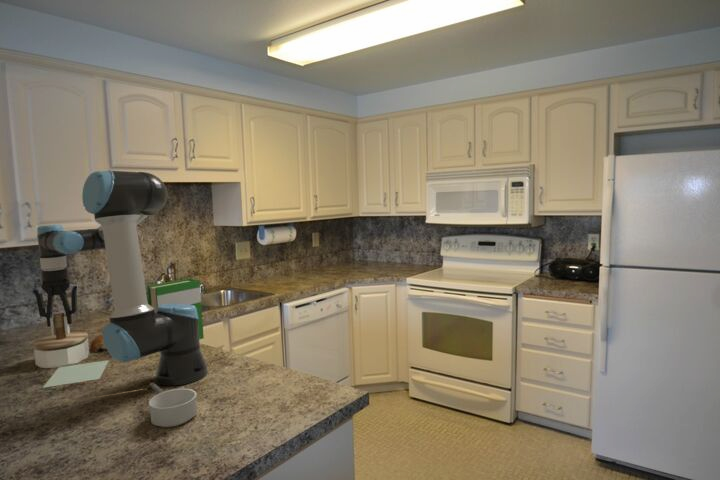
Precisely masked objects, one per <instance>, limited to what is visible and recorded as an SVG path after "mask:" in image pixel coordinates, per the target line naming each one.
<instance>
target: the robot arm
mask: <svg viewBox="0 0 720 480" xmlns="http://www.w3.org/2000/svg"><path fill="white" fill-rule="evenodd" d="M82 187H83V188H82V194H81V195H82V196H81V197H82V198H81V199H82V204H83V207H84V209H85V210H86V212H87V213H89V214H93V216H94V221H95V222H97V223H98V224H99V225H100V226H98V228H90V229H89V228H88V229H75V230H74V229H73V230H64V227H63V225H61V224H47V225H46V224H43V225H39V226H38V227H37V228H36V230H37V231H36V234H37V236H36V238H37V243H38V250H39V251H38V252H39V261H40V269H41V270H42V271H41V272H40V273H41V281H42V282H41V283H42V284H41V285H40V286H39V287H38V288H35V289H33V290H32V293H33V294H34V296H35V298H36V302H37V308H38V314H39V316H40V318H45V319H46V325H47V327H50V331H51V335H52V336H55V335H56V331H55V321H54V314H53V310H54V309H53V308H54V301H55V300H54V299H55V296H59V298H60V301H61V303H62V307H63V310H64V325H65V335H66V334H69V333H70V332H71V329H70V325H71V324H72V323H73V318H72V315H74V314H76V312H77V311H78V289H79V287H80V285H78V284H72V283H71V282H70V280H69V273H68V269H67V267H68V264H67V262H68V261H67V255H71V254H76V253H80V252H81V253H82V252H88V251H89V252H90V251H98V250H99V251H101V250H105V254H106V261H107V267H108V275H109V281H110V287H111V288H110V289H111V295H112V296H111V297H112V301H113V307H114V308H113V311H112V312H111V313H110V315H109V322H108V323H107V324H106V325H104V326H103V329H102V330H103V331H102V334H103V340H104V344H105V346H106V348H107V350H108V351H107V352H108V353H109V354H110V356H111V357H112V358H113V359H114V360H115V361H117V362H120V363H127V362H130V361H137V360H139V359H141V358H144V357H147V356H150V355H153V354H156V353H160V356H159V361H158V364H157V368H156V371H155V380H156V382H157V384H160V385H162V386H168V387H169V386H181V385H186V384H190V383H194V382H196V381H199V380H201V379H202V378H204V377H205V376H206V375H208V365H207V362H206V360H205V357H204V355H203V353H202V351H201V345H200V344H201V343H200V341H201V340H200V339H199V327H198V319H199V318H198V314H197V309H196V307H195V306H193V305H190V304H164V305H159V306H158V307H157V309H156V311H157V312H156V313H155V312H154V308H153V307H152V306H150V305H149V304H148V295H147V288H146V284H145V276H144V270H143V269H144V268H143V263H142V257H141V250H140V249H141V248H140V242H139V235H138V228H137V226H138V225H139V224H140V223H142V222H143V221H144V220H145V219H146V218H147V217H148V216H149V217H151V216H155V215H156V214H157V213H159V212H160V211H161V210H162V209H164V207H165V205H166V204H167V201H168V191H167V190H168V189H167V187H166V185H165V183H164V182H163V181H162V179H160V178H159V177H158V176H156V175H155V174H153V173H150V172H146V171H125V170H124V171H121V170H102V171H101V170H100V171H98V170H97V171H93V172H92V173H90V174H89V175H88V176H87V178H86V179H85V182H84V183H83V186H82ZM68 290H70V291H71V292H70V295H71V297H70V302H71V303H70V304H71V306H70V304H69V300H68V296H67V291H68ZM43 291H44V292H45V293H46V294H47V304H46V308H45V302H44V297H43Z"/></svg>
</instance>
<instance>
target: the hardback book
mask: <svg viewBox="0 0 720 480" xmlns="http://www.w3.org/2000/svg"><path fill="white" fill-rule="evenodd" d="M146 294H147V303H148V304H149V305H150V306H152V307H153V308H154V312H155V313H156V312H157V311H156V309H157V307H158V306H159V305H164V304H190V305H193V306H195V307H196V309H197V314H198V318H199V319H198V327H199V340H202V339H204V324H203V323H204V322H203V311H202V310H203V307H202V297H201V296H202V295H201V282H200V279H195V278H184V279H179V280H174V281H168V282H162V283H156V284H151V285H147V286H146Z"/></svg>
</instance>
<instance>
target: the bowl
mask: <svg viewBox="0 0 720 480" xmlns="http://www.w3.org/2000/svg"><path fill="white" fill-rule="evenodd" d="M33 351H34V360H35V361H34V363H35V366H38V367H39V368H42V369H54V368H55V369H56V368H59V367H64V366H71V365H75V364H77V363H80V362H83V361H84V360H86V359H87V358H88V357H89V354H90V347H89V337H88V338H87V339H86V340H85V341H83V342H80V343H78V344H74V345H71V346H67V347H62V348H55V349H36V348H34V349H33Z"/></svg>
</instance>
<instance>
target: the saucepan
mask: <svg viewBox="0 0 720 480" xmlns="http://www.w3.org/2000/svg"><path fill="white" fill-rule="evenodd" d="M148 385H149V387H150V388H151V389H152V390H154V391H155V392H156V394H155V395H154V396H152V397H150V399H149V400H148V401H147V405H148V406H149V413H150V422H151V424H152V425H154V426H157V427H161V428H171V427H172V428H173V427H175V426H179V425H182V424H185V423H186V422H188V421H189V420H191V419H193V418H194V417H195V415H196V414H197V401H196V398H197V394H198V393H197V391H195V390H194V389H190V388H174V389H168V390H166V391H165V390H164V389H162V388H161V387H160V386H159V385H157V384H156V383H154V382H151V383H149V384H148Z"/></svg>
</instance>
